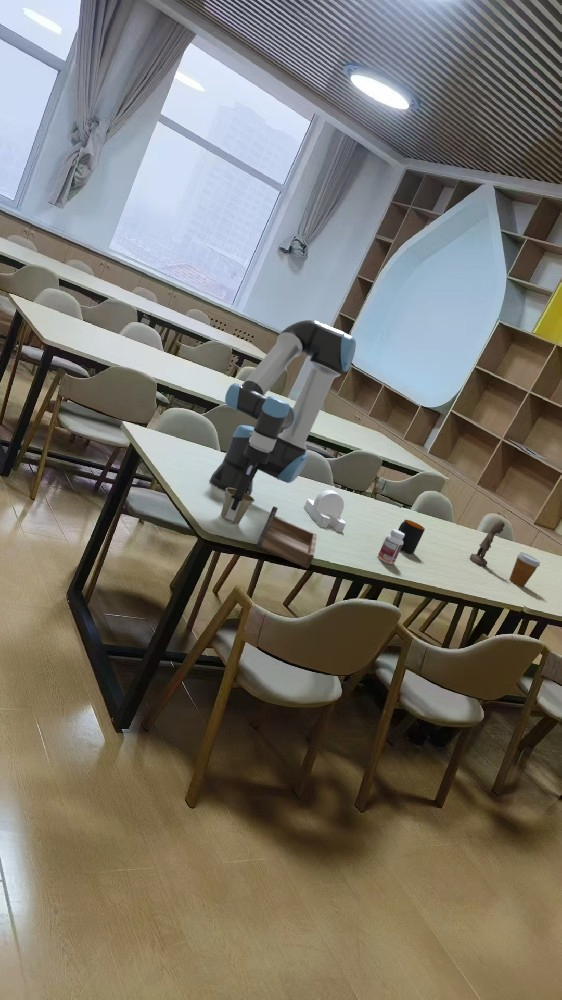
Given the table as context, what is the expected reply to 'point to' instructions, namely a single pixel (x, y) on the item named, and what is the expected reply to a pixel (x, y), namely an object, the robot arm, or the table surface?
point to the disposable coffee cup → (523, 569)
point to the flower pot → (242, 509)
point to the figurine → (487, 544)
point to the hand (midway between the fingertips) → (231, 515)
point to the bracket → (327, 510)
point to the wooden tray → (287, 541)
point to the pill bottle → (391, 547)
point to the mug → (410, 535)
